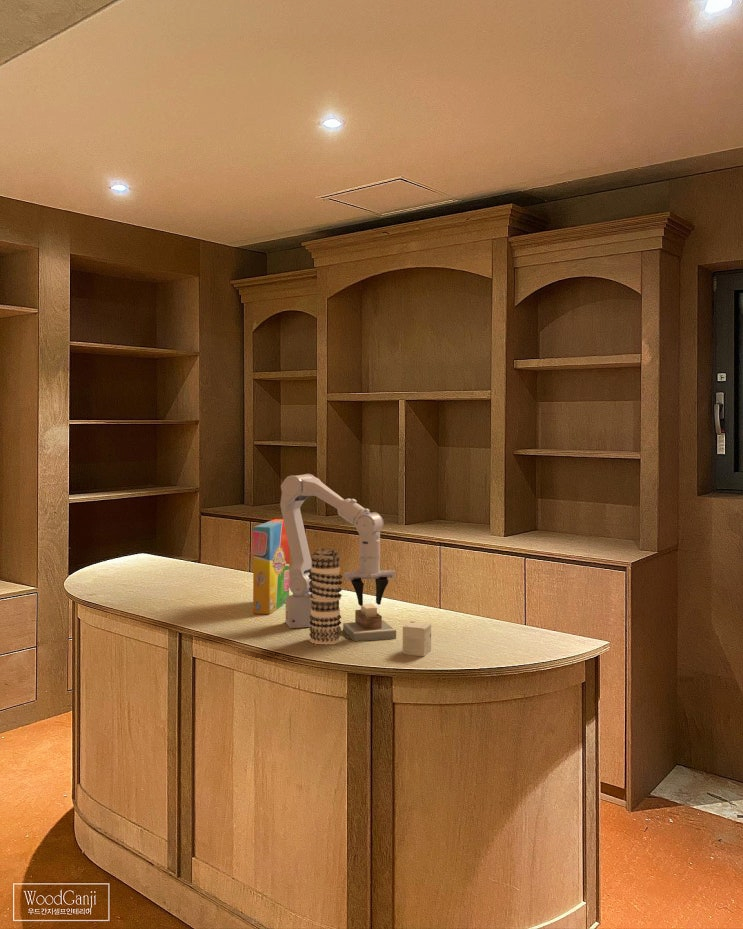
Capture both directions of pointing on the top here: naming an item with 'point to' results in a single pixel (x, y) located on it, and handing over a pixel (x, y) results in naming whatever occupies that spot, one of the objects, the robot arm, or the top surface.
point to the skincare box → (417, 638)
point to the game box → (270, 566)
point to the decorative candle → (325, 597)
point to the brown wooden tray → (368, 620)
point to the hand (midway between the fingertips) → (369, 604)
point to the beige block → (369, 610)
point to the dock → (369, 632)
